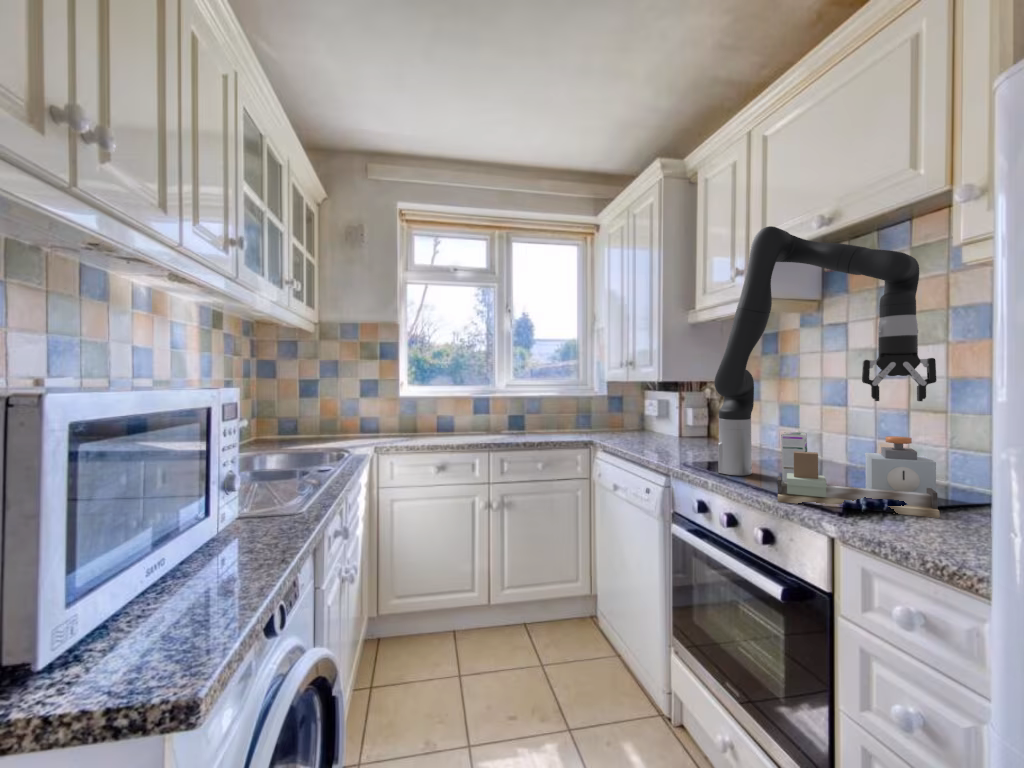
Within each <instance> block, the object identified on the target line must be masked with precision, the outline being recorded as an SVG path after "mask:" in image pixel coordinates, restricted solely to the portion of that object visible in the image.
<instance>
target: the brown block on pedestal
mask: <svg viewBox="0 0 1024 768" xmlns="http://www.w3.org/2000/svg"><path fill="white" fill-rule="evenodd" d="M826 485H827V479H826V477H825V475H820V474H819V453H818V452H813V451H812V452H811V451H807V452H798V451H794V473H787V494H795V495H806V496H816V497H826V488H827V486H826Z"/></svg>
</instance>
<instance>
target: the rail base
mask: <svg viewBox="0 0 1024 768" xmlns="http://www.w3.org/2000/svg"><path fill="white" fill-rule="evenodd" d="M826 486H827V488H826V497H816V496H806V495H795V494H787V482H782V475H781V476H779V475H778V476H777V502H778V503H779V502H780V503H789V504H796V505H798V503H802V502H816V503H825V504H842V503H843V502H844V500H852V501H854V500H857V499H861V498H864V497H866V498H872V499H894V500H899V501H904V502H905V503H907V504H908V505H904V506H902V505H901V506H888V507H890V508H891V509H894V511H895V512H896V513H898V515H906V516H918V517H926V518H935V519H936V518H937V519H939V518H940V517H941V516H940V514H941V513H940V510H939V509H938V492H937V491H936V492H935V491H934V490H933V489H932V488H927V493H915V492H903V491H891V490H878V489H866V487H854V486H839V485H830V484H829V485H828V484H826Z"/></svg>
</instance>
